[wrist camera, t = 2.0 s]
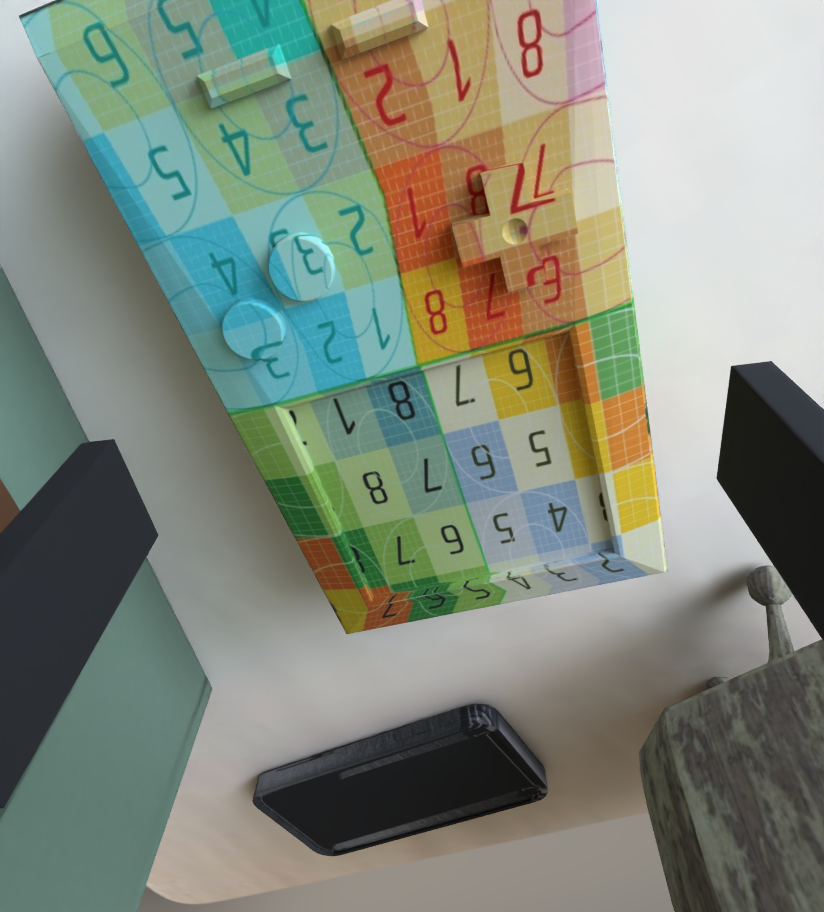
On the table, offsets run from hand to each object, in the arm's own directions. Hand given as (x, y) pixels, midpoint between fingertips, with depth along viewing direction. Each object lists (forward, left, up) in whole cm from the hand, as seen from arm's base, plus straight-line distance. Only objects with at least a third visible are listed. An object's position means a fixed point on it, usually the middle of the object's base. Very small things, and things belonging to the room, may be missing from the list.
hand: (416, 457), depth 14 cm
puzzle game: (0, 0, -9) cm, 9 cm away
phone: (+26, -5, -8) cm, 28 cm away
